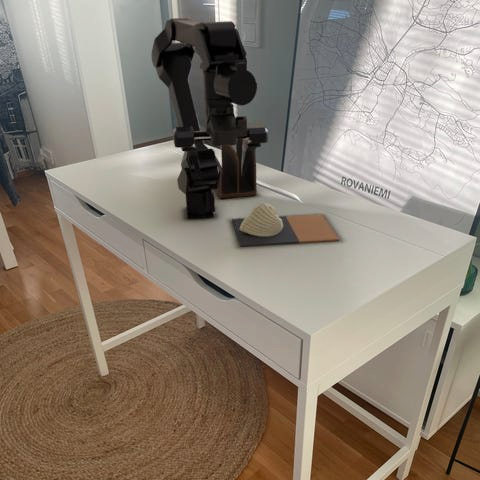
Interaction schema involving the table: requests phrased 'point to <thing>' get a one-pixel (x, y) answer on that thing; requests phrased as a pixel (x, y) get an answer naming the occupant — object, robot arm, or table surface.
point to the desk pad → (291, 231)
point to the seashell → (262, 221)
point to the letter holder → (236, 173)
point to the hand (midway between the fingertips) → (221, 177)
